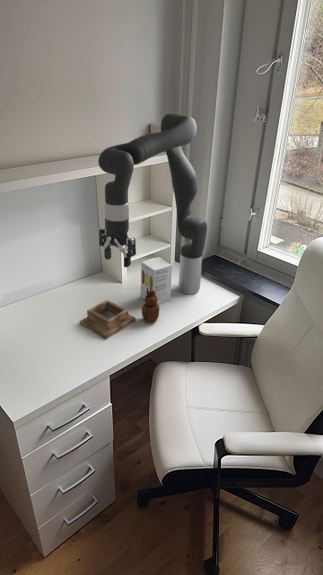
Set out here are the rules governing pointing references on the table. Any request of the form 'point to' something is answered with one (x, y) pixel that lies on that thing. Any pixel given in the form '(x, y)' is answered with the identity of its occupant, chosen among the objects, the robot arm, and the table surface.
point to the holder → (107, 319)
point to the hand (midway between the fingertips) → (117, 262)
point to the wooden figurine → (150, 307)
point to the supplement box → (156, 278)
